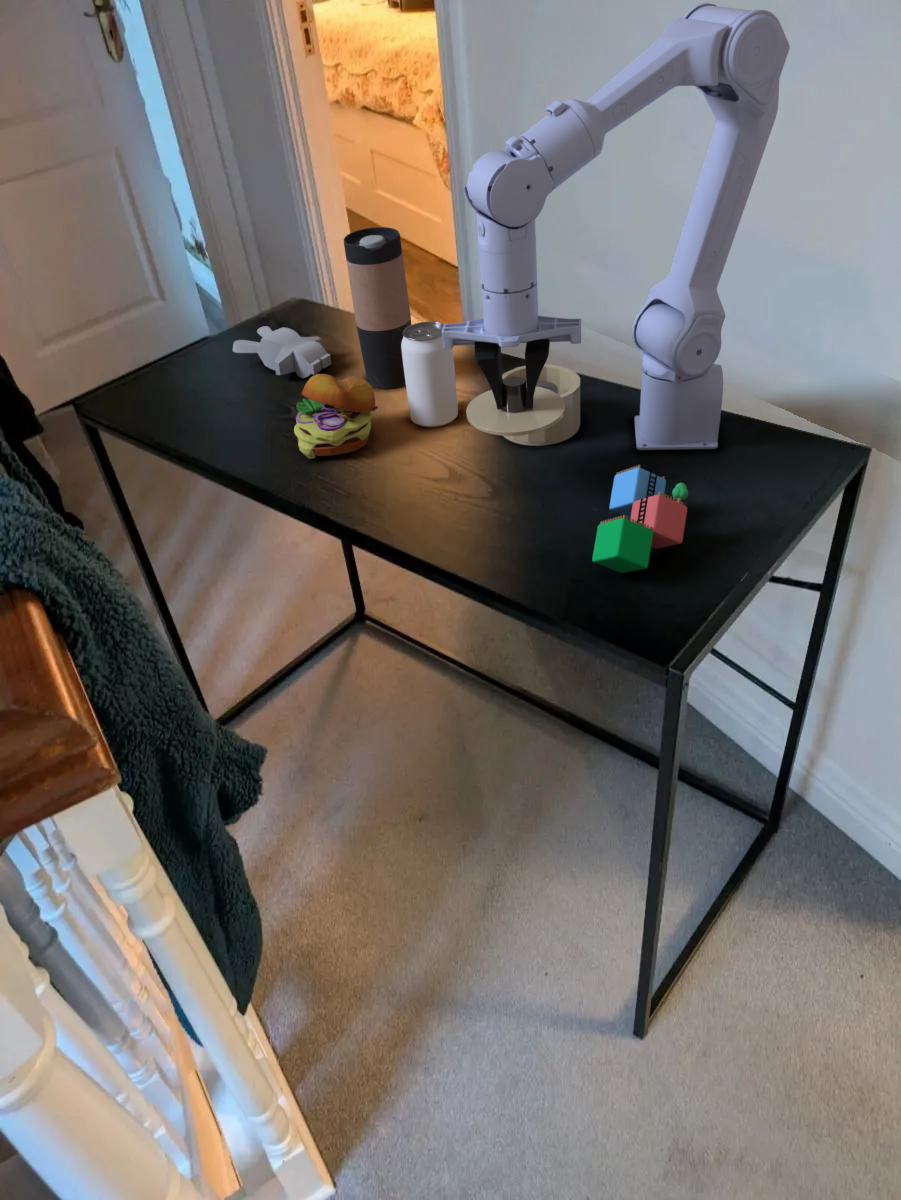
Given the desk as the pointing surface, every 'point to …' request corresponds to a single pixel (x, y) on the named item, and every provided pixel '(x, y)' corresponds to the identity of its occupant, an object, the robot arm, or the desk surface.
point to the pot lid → (515, 410)
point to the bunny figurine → (287, 351)
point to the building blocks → (639, 520)
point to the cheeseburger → (334, 415)
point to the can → (429, 375)
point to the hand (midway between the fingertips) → (515, 404)
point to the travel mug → (379, 302)
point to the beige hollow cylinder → (569, 393)
